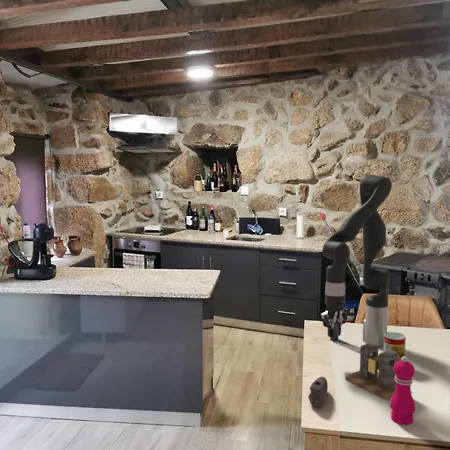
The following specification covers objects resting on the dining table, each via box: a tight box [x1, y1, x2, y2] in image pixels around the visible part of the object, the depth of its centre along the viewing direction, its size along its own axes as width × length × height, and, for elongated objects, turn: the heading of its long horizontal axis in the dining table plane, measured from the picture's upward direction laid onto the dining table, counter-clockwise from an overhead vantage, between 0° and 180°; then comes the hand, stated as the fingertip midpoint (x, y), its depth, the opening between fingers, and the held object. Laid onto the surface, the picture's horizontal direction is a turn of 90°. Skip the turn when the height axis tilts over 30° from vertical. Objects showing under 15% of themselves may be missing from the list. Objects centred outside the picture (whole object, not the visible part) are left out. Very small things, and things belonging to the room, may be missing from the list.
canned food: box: [383, 331, 407, 362], centre depth 176 cm, size 8×8×12 cm
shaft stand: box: [344, 343, 398, 401], centre depth 160 cm, size 18×12×13 cm, turn 33°
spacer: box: [368, 354, 379, 374], centre depth 160 cm, size 3×5×5 cm, turn 123°
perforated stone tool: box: [307, 376, 329, 408], centre depth 151 cm, size 15×5×7 cm, turn 155°
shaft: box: [329, 321, 374, 357], centre depth 170 cm, size 20×3×8 cm, turn 33°
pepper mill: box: [389, 356, 416, 426], centre depth 137 cm, size 7×7×20 cm
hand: (334, 335), depth 176 cm, fingers closed on shaft, 3 cm apart
